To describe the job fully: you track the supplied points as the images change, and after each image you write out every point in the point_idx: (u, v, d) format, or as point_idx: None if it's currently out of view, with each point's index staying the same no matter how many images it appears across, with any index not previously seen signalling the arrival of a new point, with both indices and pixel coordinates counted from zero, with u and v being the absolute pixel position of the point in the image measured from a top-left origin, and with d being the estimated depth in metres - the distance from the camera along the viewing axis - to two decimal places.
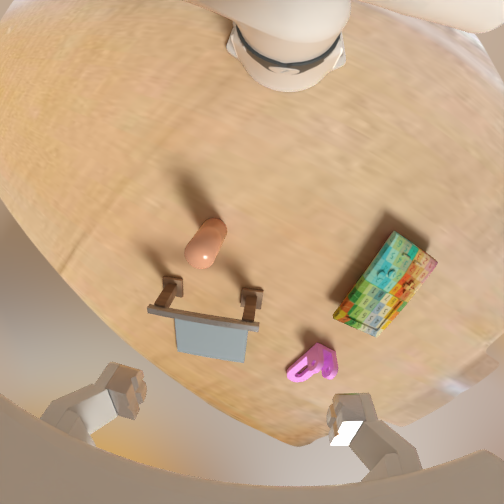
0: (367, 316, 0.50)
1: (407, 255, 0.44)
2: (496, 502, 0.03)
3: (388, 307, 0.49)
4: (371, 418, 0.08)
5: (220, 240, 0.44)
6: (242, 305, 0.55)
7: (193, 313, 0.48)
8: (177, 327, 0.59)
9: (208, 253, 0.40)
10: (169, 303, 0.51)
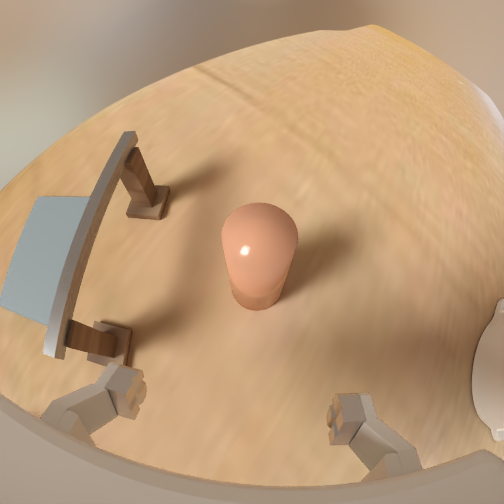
0: None
1: None
2: (496, 502, 0.03)
3: None
4: (371, 418, 0.08)
5: (264, 292, 0.20)
6: (96, 325, 0.23)
7: (103, 213, 0.20)
8: (74, 200, 0.29)
9: (265, 255, 0.16)
10: (126, 179, 0.24)
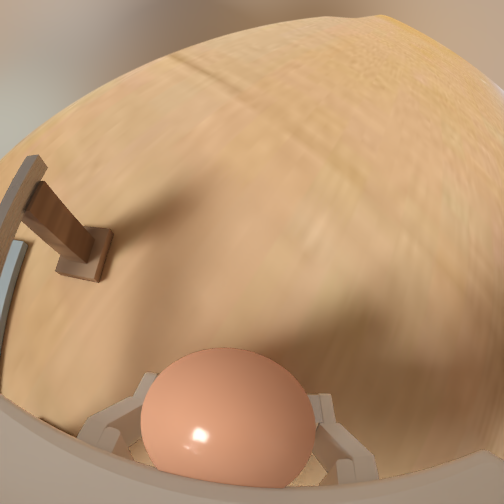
0: None
1: None
2: (496, 502, 0.03)
3: None
4: (328, 420, 0.08)
5: None
6: None
7: None
8: None
9: (237, 477, 0.05)
10: (38, 231, 0.13)
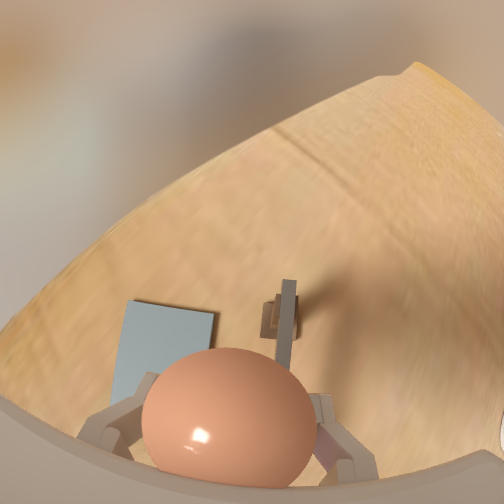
0: None
1: None
2: (496, 502, 0.03)
3: None
4: (328, 420, 0.08)
5: None
6: None
7: None
8: (187, 314, 0.31)
9: (238, 477, 0.05)
10: None
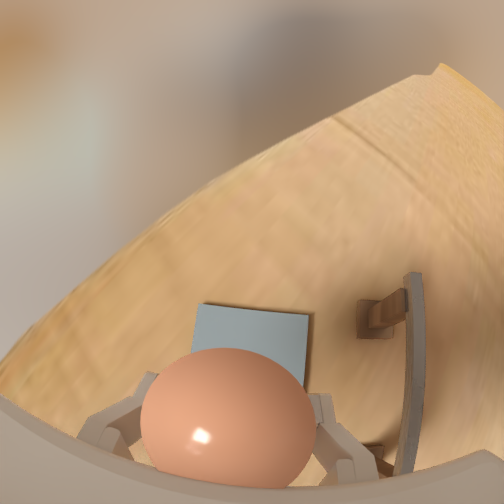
0: None
1: None
2: (496, 502, 0.03)
3: None
4: (328, 420, 0.08)
5: None
6: None
7: None
8: (277, 317, 0.27)
9: (237, 478, 0.05)
10: (394, 318, 0.22)
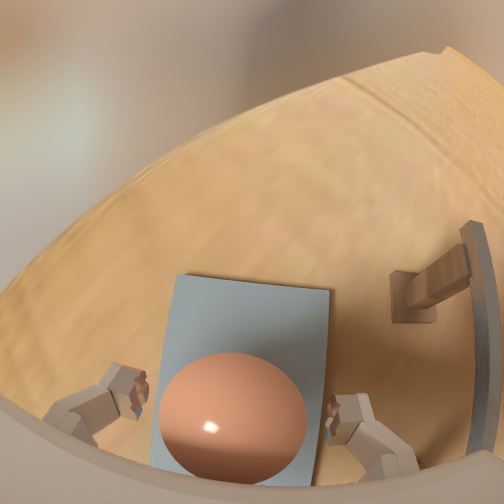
0: None
1: None
2: (496, 502, 0.03)
3: None
4: (368, 418, 0.08)
5: None
6: None
7: None
8: (287, 293, 0.19)
9: (240, 462, 0.07)
10: (448, 289, 0.15)
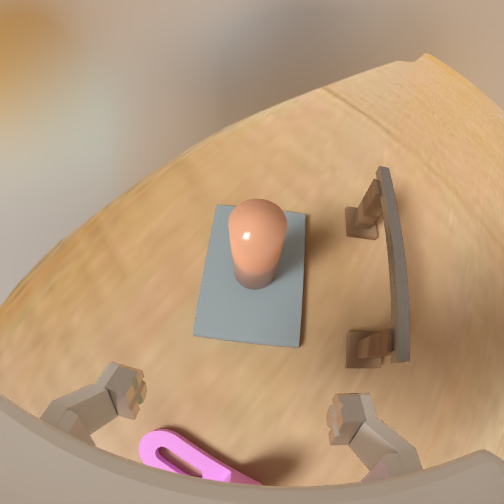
0: None
1: None
2: (496, 502, 0.03)
3: None
4: (371, 418, 0.08)
5: (261, 270, 0.25)
6: (352, 334, 0.28)
7: None
8: None
9: (261, 238, 0.21)
10: (373, 207, 0.29)
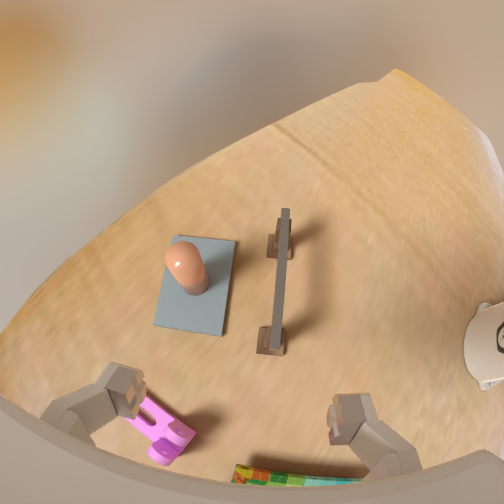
0: None
1: None
2: (496, 502, 0.03)
3: None
4: (371, 418, 0.08)
5: (190, 284, 0.39)
6: (261, 329, 0.41)
7: None
8: (217, 242, 0.48)
9: (183, 266, 0.35)
10: None
